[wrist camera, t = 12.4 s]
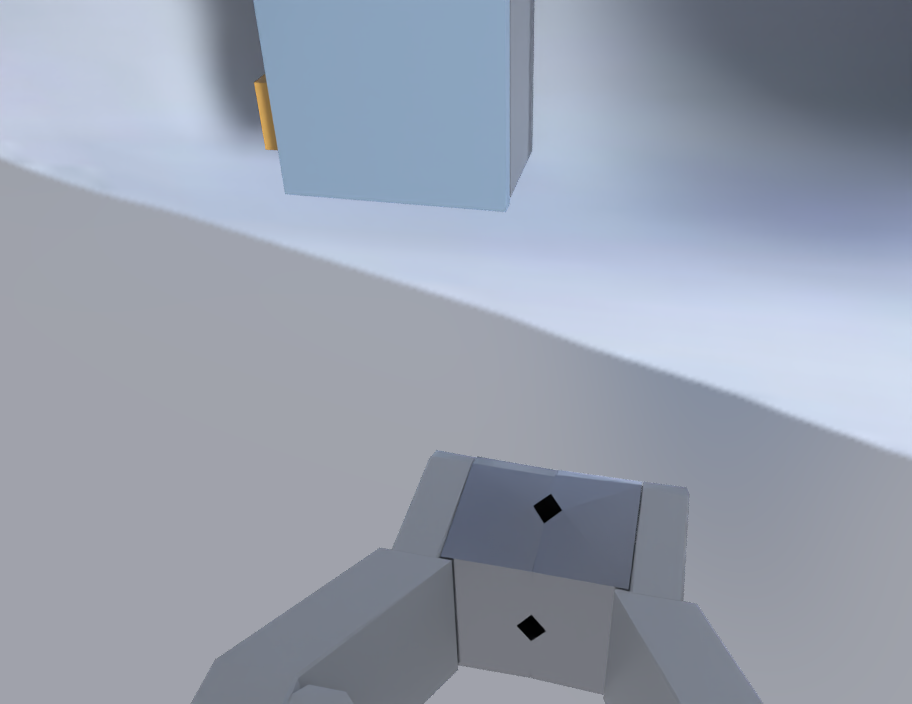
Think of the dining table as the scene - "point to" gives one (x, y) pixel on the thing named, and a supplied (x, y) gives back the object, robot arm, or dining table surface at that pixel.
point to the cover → (388, 99)
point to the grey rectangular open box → (521, 86)
